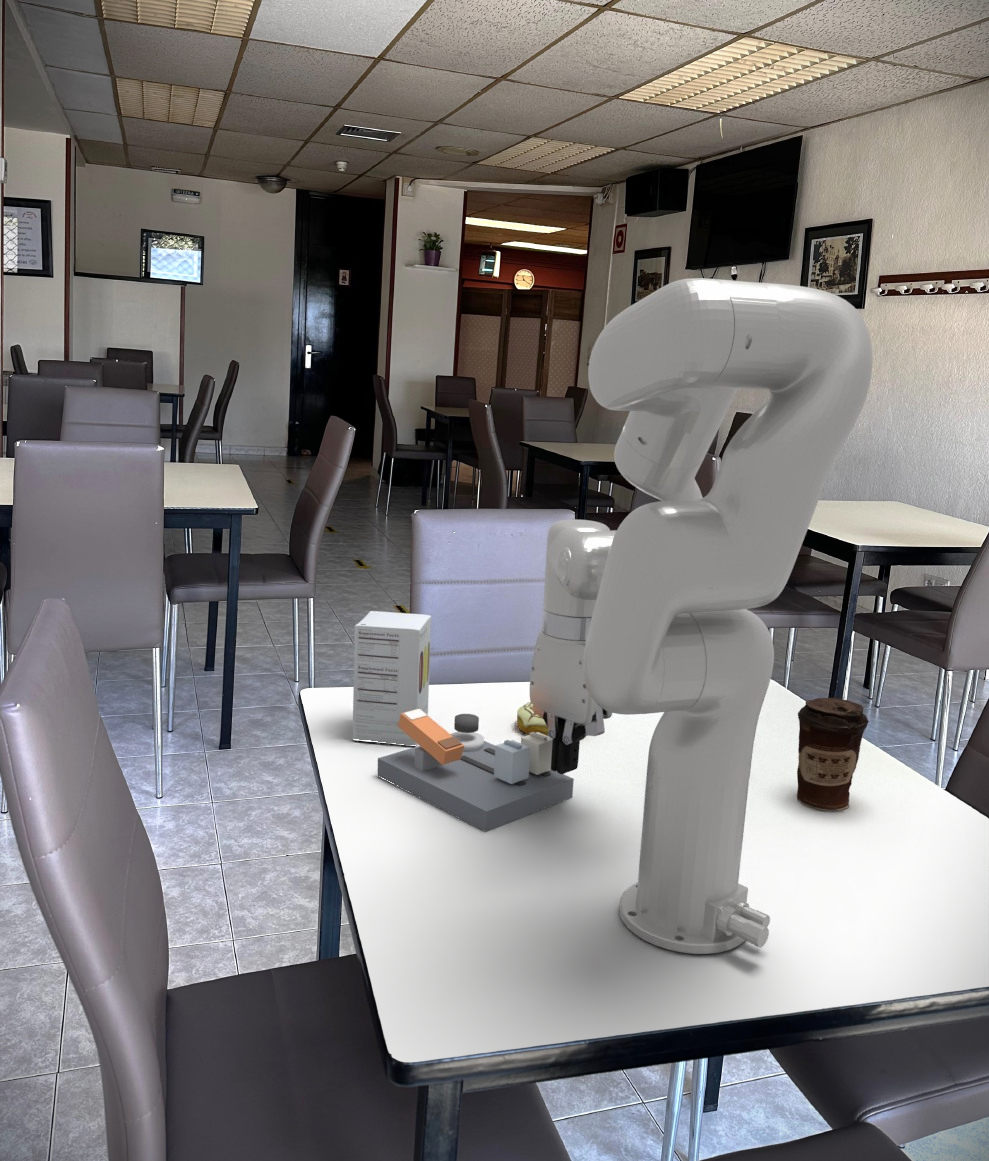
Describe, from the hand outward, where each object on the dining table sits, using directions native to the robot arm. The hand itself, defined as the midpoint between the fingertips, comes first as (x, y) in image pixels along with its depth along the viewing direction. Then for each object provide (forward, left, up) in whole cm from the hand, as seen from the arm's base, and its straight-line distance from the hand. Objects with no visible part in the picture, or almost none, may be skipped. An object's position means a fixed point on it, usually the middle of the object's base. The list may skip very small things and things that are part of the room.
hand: (564, 769), depth 124 cm
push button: (+16, +1, +1) cm, 17 cm away
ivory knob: (+4, 0, -1) cm, 5 cm away
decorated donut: (+18, -18, -5) cm, 26 cm away
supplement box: (+31, +2, -5) cm, 31 cm away
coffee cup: (-21, -26, -4) cm, 34 cm away
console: (+10, +6, -4) cm, 12 cm away
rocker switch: (+14, +10, +2) cm, 17 cm away
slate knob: (+4, +5, -1) cm, 7 cm away
